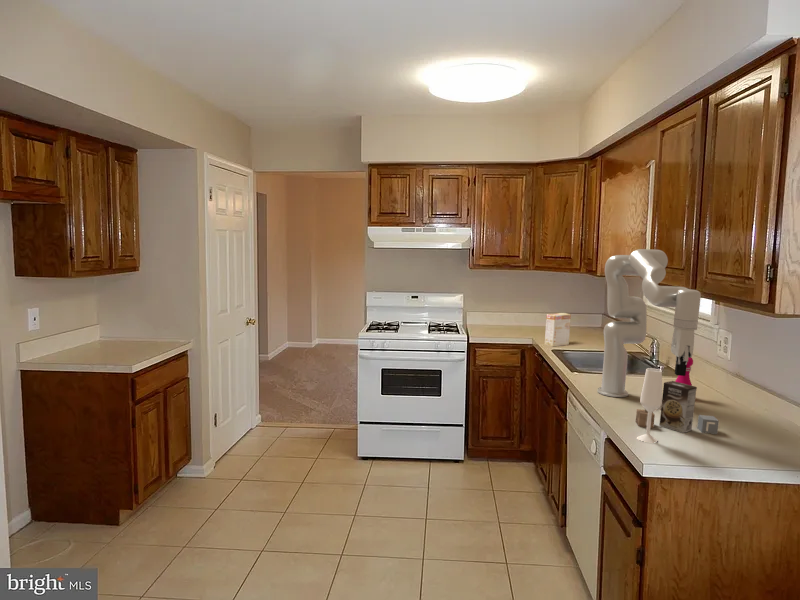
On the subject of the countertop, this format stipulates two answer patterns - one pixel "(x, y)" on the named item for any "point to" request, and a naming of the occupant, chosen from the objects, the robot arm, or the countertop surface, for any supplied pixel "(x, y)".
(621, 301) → the robot arm
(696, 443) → the countertop surface
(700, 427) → the slate block seven
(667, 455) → the countertop surface
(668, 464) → the countertop surface
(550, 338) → the coffeecake box
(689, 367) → the pepper mill
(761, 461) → the countertop surface
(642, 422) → the walnut block one
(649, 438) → the champagne flute
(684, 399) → the coffee box
